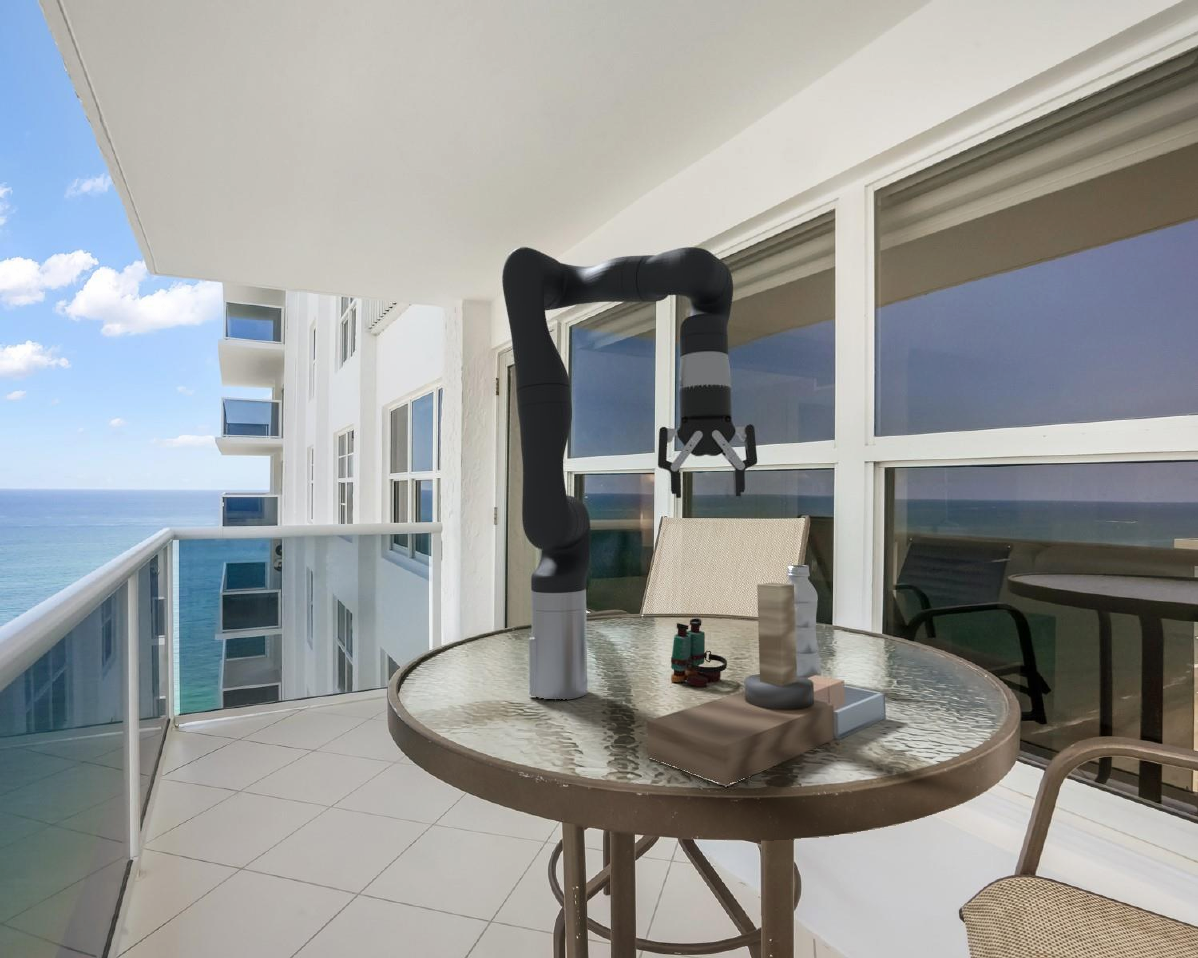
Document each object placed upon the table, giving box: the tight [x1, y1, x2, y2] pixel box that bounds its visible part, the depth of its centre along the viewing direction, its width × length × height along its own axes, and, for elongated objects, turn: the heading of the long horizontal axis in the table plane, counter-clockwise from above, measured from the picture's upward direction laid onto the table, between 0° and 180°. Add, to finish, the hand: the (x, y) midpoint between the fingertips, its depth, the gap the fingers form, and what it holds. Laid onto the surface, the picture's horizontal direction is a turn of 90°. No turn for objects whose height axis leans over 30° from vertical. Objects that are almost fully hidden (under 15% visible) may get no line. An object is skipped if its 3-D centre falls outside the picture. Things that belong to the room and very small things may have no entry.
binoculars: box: [670, 617, 728, 688], centre depth 118 cm, size 9×11×10 cm
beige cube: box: [807, 675, 845, 712], centre depth 97 cm, size 4×4×4 cm
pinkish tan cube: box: [813, 683, 829, 703], centre depth 94 cm, size 4×4×4 cm
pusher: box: [743, 582, 814, 710], centre depth 90 cm, size 9×9×16 cm
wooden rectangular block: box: [646, 690, 835, 785], centre depth 84 cm, size 22×12×4 cm, turn 131°
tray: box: [804, 677, 887, 740], centre depth 96 cm, size 13×13×4 cm
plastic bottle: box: [785, 564, 822, 678], centre depth 119 cm, size 6×7×20 cm
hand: (707, 497), depth 97 cm, fingers open, 8 cm apart
